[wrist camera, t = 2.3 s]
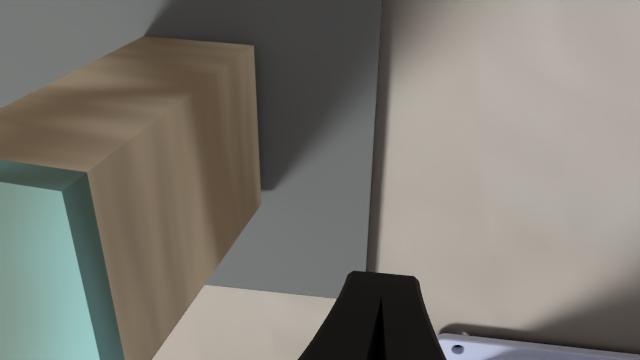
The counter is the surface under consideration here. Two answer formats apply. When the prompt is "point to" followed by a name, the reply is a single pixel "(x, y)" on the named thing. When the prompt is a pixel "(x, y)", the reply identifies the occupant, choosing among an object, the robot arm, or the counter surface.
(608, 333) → the counter surface
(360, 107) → the rubber mat
